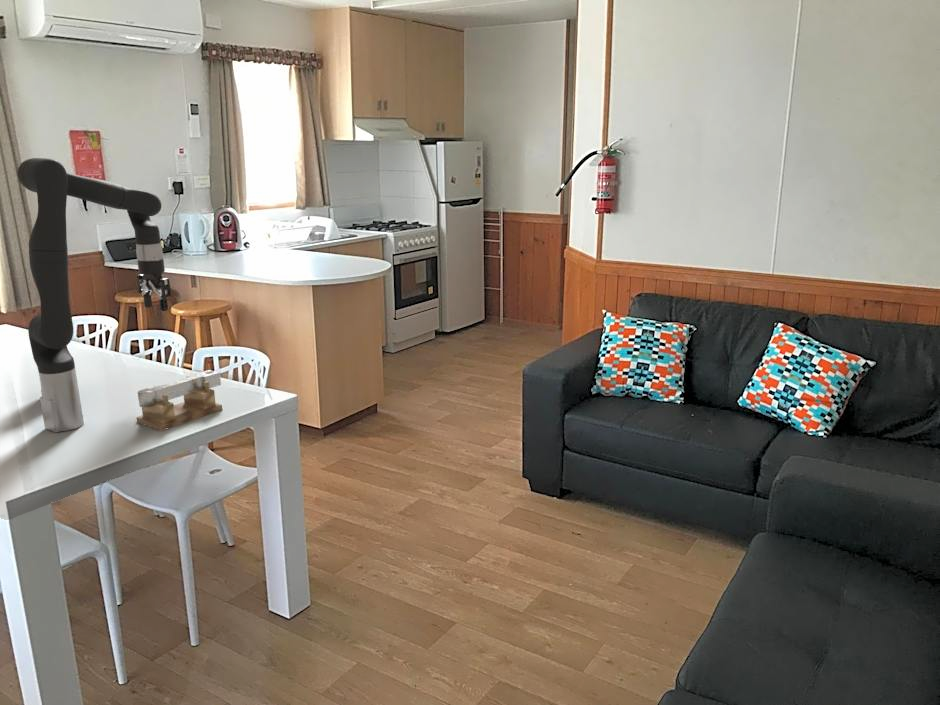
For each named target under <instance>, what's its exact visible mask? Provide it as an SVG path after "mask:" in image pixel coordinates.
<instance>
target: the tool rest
mask: <svg viewBox="0 0 940 705" xmlns="http://www.w3.org/2000/svg"><path fill="white" fill-rule="evenodd" d="M191 376H192V375H191ZM191 376H189V375H188V376H186V377H185V378H187V377H191ZM204 386H205V389H202V390H199V391H196V392H193V393H190V394H186V395H183V400H184V401H183V402H180V403H177V404H174V403H173V402H170V401H169V400H168V395H167V394H164V395H162V397H163V402H161V403H158V404H156V405H155V406H152V407H141V411H142V415H139V416H136V417H135V418H136V423H138V422H140V423H139V424H141V423H142V424H141V425H143V424H145V425H144V426H146V425H147V427H149V426H150V427H149V428H152V427H153V428H152V429H154V428H155V429H154V430H157V429H158V431H160V430H162V431H164V429H165V430H167V429H166V428H168V429H171V428H174V427H176V425H177V426H180V425H182V424H185V423H188V422H192V421H194V420H196V419H200V418H203V417H204V416H208V415H211V414H214V413H216V411H217V412H220V411H222V410H223V405H222V404H221V403H220V404H219V403H217V402H216V396H215V395H216V394H215V393H216V392H215V390H214V389H212V388H210V386H209V382H204ZM146 389H149V388H146ZM219 410H220V411H219ZM199 417H200V418H199ZM179 424H180V425H179ZM173 426H174V427H173ZM170 427H171V428H170Z"/></svg>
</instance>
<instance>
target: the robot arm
mask: <svg viewBox="0 0 940 705" xmlns="http://www.w3.org/2000/svg"><path fill="white" fill-rule="evenodd" d="M16 171H17V172H16V173H17V178H18V181H19V183H20V184H21V185H22V186H23V187H24V188H25V189H26V190H28V191H30V192H33V193H36V196H37V216H36V219H35V222H34V225H33V227H32V230H31V234H30V236H29V240H28V258H29V268H30V272H31V275H32V278H33V281H34V284H35V286H36V290H37V292H38V297H39V302H40V313H38V314H36V315H34V316H33V317H32V318H31V320H30V321H29V324H28V327H27V328H28V331H27V332H28V339H29V344H30V347H31V348H30V349H31V352H32V354H31V355H32V357H33V358H32V359H33V361H34V362H35V364H36V368H37V371H38V376H39V382H40V390H41V389H42V392H41V396H40V397H39V400H40V407H41V412H42V418H43V423H44V424H43V425H44V428H45V429H46V430H49V431H51V432H53V433H60V432H68V431H71V430H75V429H77V428H80V427H81V426H83V425H84V424H85V421H84V414H83V408H82V403H81V396H80V389H79V384H78V377H77V370H76V365H75V364H76V363H75V359H74V357H73V356H72V355H71V353H70V351H69V349H68V345H69V344H70V343H71V341H72V339H73V336H74V323H73V319H72V318H73V317H72V312H71V306H70V305H71V304H70V297H69V296H70V294H69V292H70V289H69V254H68V253H69V252H68V250H69V249H68V240H67V239H68V238H67V237H68V236H67V201H68V200H67V199H68V196H69V197H72V198H77V199H80V200H83V201H87V202H90V203H94V204H97V205H100V206H104V207H108V208H111V209H115V210H123V211H125V210H126V212H127V215H128V218H129V220H130V223H131V226H132V228H133V230H134V237H135V244H136V245H135V251H136V253H135V254H136V261H137V268H138V269H137V270H138V273H139V274H136V281H137V282H136V284H137V292H138V294H141V296H142V297H143V304H144V307H145V308H147V309H148V308H152V307H153V301H152V295H151V294H152V292H154V294H156V295H157V297H158V298H159V299H158V300H159V307H160V308H159V309H160V312H165V311H166V312H167V311H168V310H169V304H168V299H169V298H171V297H172V295H173V294H172V289H171V284H170V278H169V277H166V278H165V277H164V278H163V275H162V274H163V273H164V272H166V270H165V259H164V251H163V246H162V243H161V235H160V228H159V226H158V225H157V224H156V223H153V222H152V220H151V217H153V216H156V215H158V214H159V213H160V212H161V211H162V210H161V209H162V201H161V200H160V198H159V197H158V195H156V194H154V193H152V192H150V191H145V190H141V189H134V188H130V187H125V185H124V186H123V185H121V184H118V183H113V182H111V181H107V180H103V179H98V178H94V177H89V176H88V177H87V176H83V175H78V174H74V173H69V172H67V170H66V168H65V166H64V165H63V164H62V163H61V162H60V161H58V160H56V159H53V158H46V157H44V158H43V157H41V158H40V157H32V158H28V159H26V160H23V161H22V162H21V163H20V164H19V166H18V168H17V170H16ZM42 395H43V396H42Z"/></svg>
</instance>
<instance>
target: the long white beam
mask: <svg viewBox="0 0 940 705" xmlns="http://www.w3.org/2000/svg"><path fill="white" fill-rule="evenodd" d="M186 377H187V376H186ZM186 377H185V378H181V379H177V380H174V381H172V382H170V381H169V382H168V383H163V384H161V385H157V386H154V387H151V388H148V389H147V388H144V389H140V390H138V391H137V397H138V404H139V405H138V406H139V407H140V408H142V407H152V406H155V405H156V404H158V403H161V402H163V397H162V395H164V394H167V395H168V401H170V400H173V399H177V398H180V397H184V395H186V394H190V393H193V392H196V391H199V390H202V389H205V386H204V382H209V386H210V389H212V388H216V387H218V386H221V385H222V383H221V372H220V371H213V370H211V369H208V370H204V371H201V372H198V373H194V375H191V377H187V378H186Z"/></svg>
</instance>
